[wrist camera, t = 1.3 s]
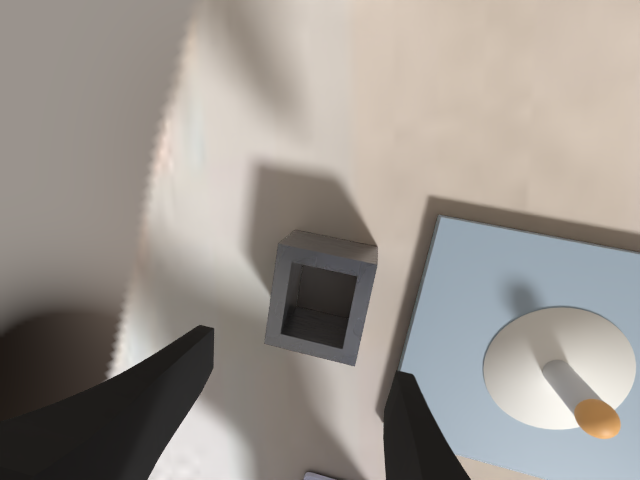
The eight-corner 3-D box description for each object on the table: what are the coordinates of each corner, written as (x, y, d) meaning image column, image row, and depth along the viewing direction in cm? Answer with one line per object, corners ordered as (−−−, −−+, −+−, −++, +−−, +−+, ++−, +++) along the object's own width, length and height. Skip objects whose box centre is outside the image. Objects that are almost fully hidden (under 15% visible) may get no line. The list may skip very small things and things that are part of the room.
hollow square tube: (358, 332, 23) (354, 366, 19) (282, 314, 24) (264, 343, 20) (377, 246, 22) (377, 264, 18) (295, 229, 22) (278, 243, 19)
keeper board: (649, 496, 22) (741, 609, 17) (383, 424, 25) (384, 502, 19) (768, 276, 18) (943, 327, 13) (438, 214, 21) (460, 233, 15)
